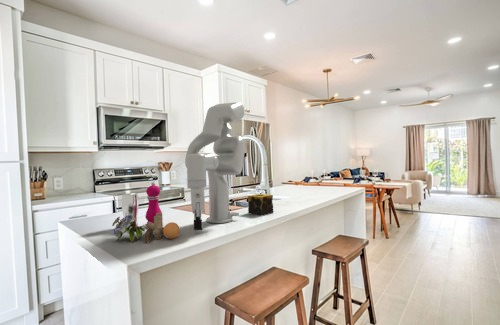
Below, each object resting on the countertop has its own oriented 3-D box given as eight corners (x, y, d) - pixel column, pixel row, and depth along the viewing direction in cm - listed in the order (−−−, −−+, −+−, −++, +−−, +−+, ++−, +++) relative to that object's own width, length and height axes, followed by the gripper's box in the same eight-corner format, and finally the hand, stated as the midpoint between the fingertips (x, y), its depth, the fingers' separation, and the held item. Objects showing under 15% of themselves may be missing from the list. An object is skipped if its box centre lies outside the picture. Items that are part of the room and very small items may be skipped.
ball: (157, 231, 99) (170, 230, 104) (164, 242, 95) (177, 241, 100) (165, 219, 98) (177, 219, 102) (172, 230, 94) (185, 229, 99)
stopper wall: (153, 232, 108) (153, 224, 108) (148, 242, 94) (148, 234, 94) (149, 232, 108) (149, 225, 108) (144, 243, 94) (143, 234, 94)
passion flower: (118, 255, 98) (106, 227, 101) (146, 242, 105) (134, 217, 109) (123, 244, 90) (110, 214, 94) (153, 231, 98) (140, 204, 101)
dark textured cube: (273, 213, 143) (273, 194, 143) (261, 216, 136) (261, 196, 136) (259, 210, 150) (259, 193, 150) (247, 213, 143) (247, 195, 143)
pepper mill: (165, 223, 123) (164, 181, 123) (158, 227, 116) (157, 182, 116) (150, 223, 124) (149, 181, 124) (142, 227, 117) (141, 182, 117)
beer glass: (135, 224, 122) (134, 192, 122) (141, 227, 118) (140, 193, 117) (119, 227, 118) (118, 194, 118) (125, 230, 113) (124, 195, 113)
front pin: (170, 229, 104) (149, 221, 102) (169, 231, 102) (148, 222, 100) (167, 234, 104) (146, 226, 102) (166, 236, 101) (145, 228, 100)
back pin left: (161, 237, 100) (161, 215, 100) (161, 239, 98) (160, 216, 98) (155, 238, 100) (154, 215, 100) (154, 239, 97) (153, 217, 97)
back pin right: (163, 233, 106) (162, 212, 106) (162, 234, 104) (162, 213, 104) (156, 233, 106) (156, 212, 106) (156, 235, 103) (155, 214, 103)
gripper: (207, 185, 99) (208, 233, 99) (205, 182, 113) (206, 224, 114) (187, 186, 97) (188, 235, 97) (187, 183, 112) (188, 225, 112)
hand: (197, 229), depth 105 cm, fingers closed
